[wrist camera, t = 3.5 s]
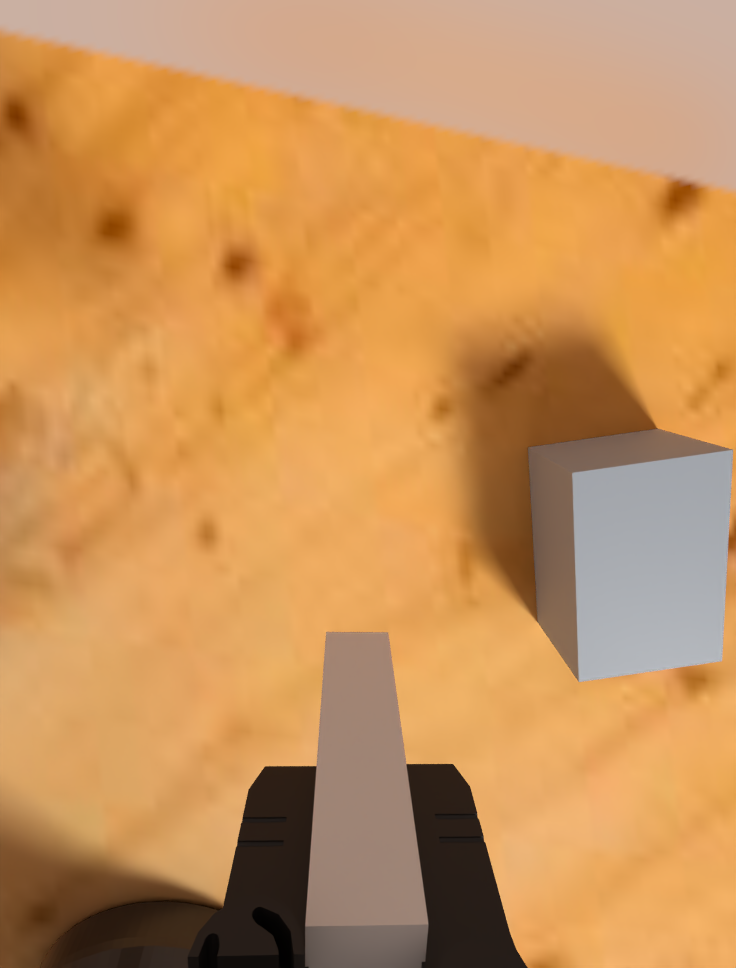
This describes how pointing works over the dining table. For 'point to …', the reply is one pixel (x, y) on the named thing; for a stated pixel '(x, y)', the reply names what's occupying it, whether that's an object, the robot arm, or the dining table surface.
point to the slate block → (631, 550)
